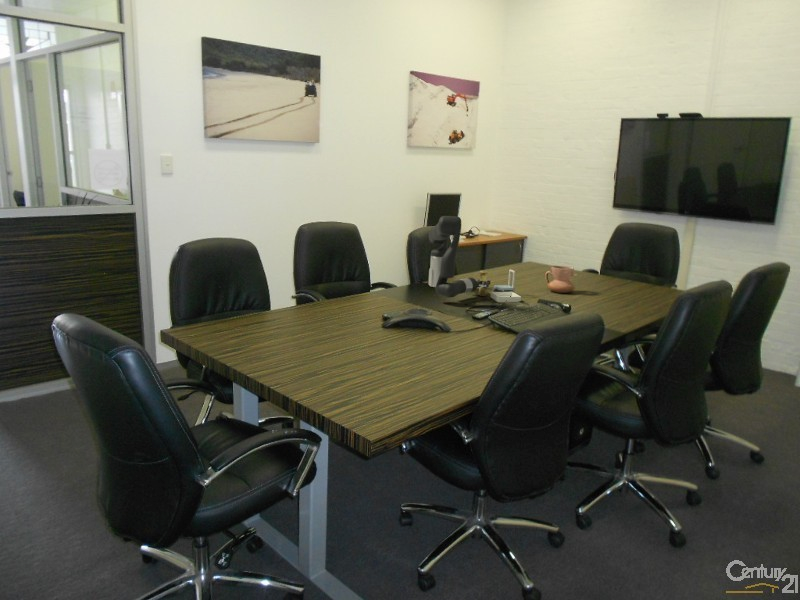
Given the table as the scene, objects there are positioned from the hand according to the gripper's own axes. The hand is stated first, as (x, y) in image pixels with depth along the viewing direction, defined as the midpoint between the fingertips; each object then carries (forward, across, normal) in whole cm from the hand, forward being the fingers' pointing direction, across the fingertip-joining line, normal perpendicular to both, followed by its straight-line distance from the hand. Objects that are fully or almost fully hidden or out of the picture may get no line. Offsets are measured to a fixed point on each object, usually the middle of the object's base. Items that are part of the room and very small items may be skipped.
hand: (485, 281), depth 316 cm
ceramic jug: (+41, -22, +7) cm, 47 cm away
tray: (-2, -14, +7) cm, 16 cm away
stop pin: (-3, 0, +7) cm, 8 cm away
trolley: (+7, -7, +7) cm, 12 cm away
